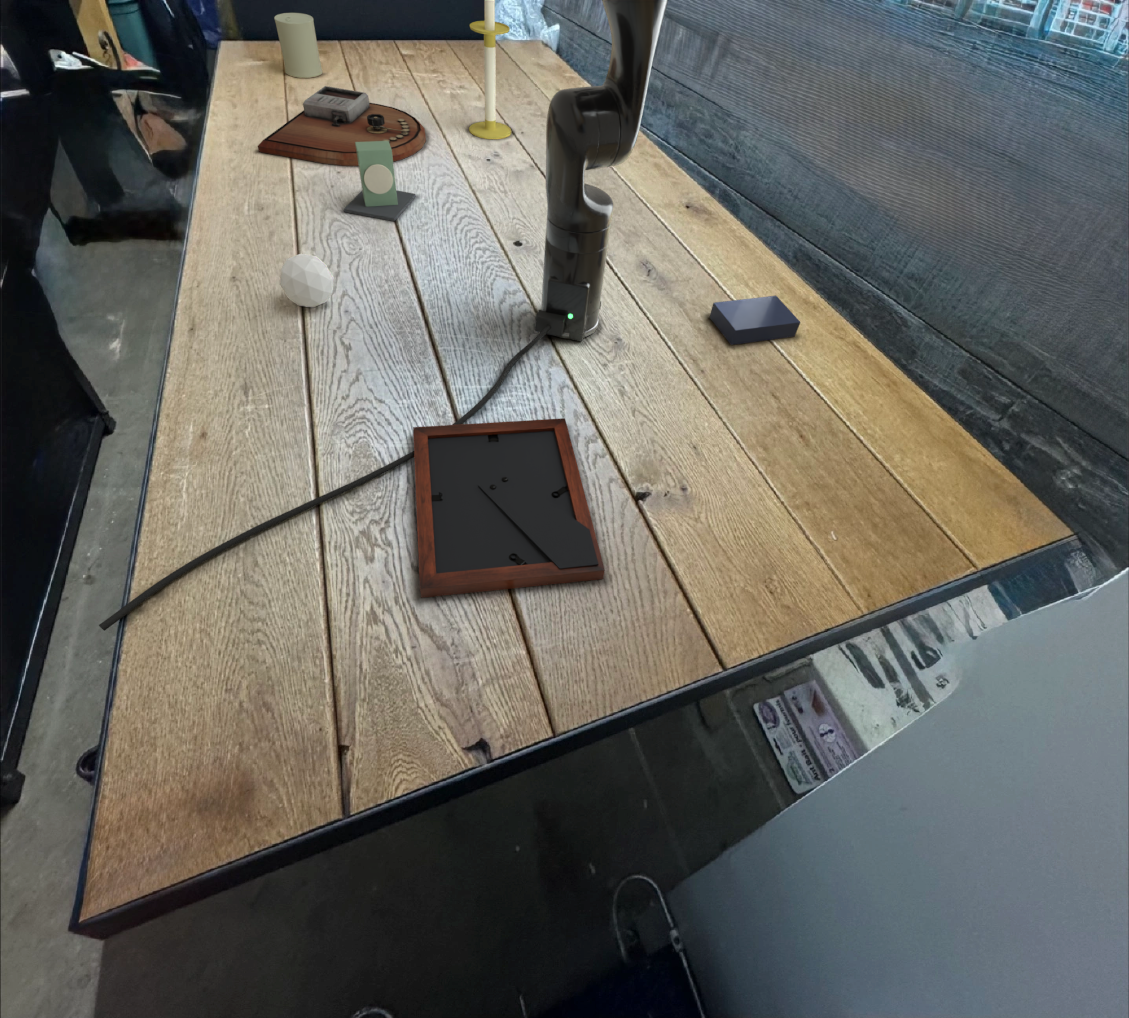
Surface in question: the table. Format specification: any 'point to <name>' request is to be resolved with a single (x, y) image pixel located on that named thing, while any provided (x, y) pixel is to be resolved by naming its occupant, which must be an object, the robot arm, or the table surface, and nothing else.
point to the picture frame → (501, 508)
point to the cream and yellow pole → (490, 75)
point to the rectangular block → (754, 319)
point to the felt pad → (380, 207)
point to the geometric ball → (306, 280)
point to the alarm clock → (376, 173)
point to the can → (298, 45)
